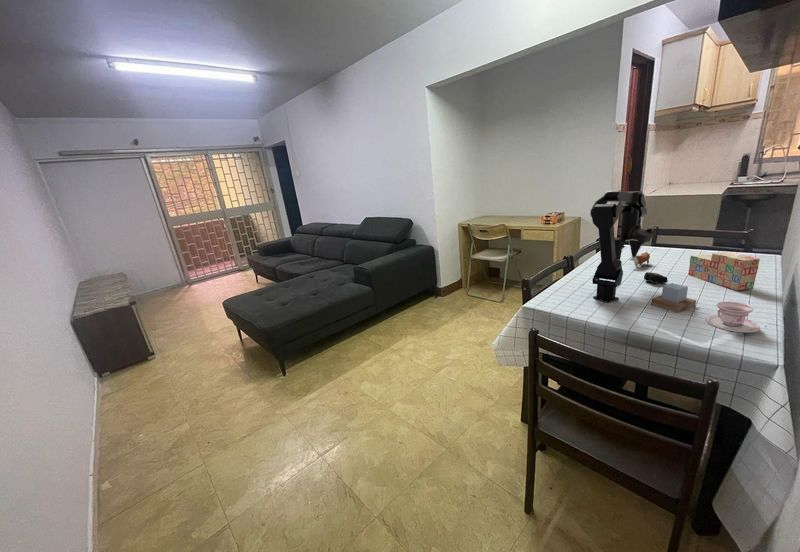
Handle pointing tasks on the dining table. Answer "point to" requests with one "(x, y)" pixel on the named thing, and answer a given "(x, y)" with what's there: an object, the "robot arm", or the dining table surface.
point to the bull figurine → (641, 259)
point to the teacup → (733, 317)
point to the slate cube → (674, 292)
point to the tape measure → (655, 277)
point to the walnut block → (673, 304)
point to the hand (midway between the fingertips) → (626, 258)
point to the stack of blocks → (725, 269)
